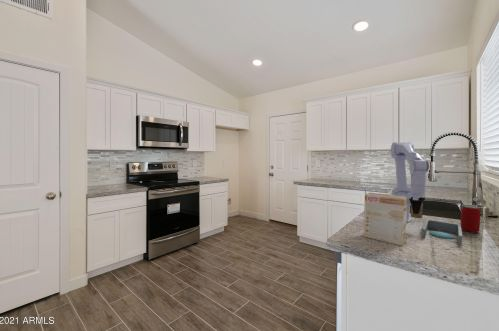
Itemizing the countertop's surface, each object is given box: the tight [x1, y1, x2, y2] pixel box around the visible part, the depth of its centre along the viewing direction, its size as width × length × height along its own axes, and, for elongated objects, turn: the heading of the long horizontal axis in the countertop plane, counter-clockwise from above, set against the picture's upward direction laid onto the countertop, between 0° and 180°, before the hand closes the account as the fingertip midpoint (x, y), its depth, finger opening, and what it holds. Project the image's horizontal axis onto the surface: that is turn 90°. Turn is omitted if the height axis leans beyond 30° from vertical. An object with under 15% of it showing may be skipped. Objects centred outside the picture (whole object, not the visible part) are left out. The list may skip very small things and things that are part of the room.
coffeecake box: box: [363, 192, 407, 247], centre depth 101 cm, size 15×7×20 cm, turn 45°
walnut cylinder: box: [410, 202, 424, 219], centre depth 111 cm, size 4×4×7 cm
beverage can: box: [460, 204, 482, 234], centre depth 112 cm, size 7×7×12 cm
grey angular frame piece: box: [421, 218, 463, 246], centre depth 106 cm, size 20×13×4 cm, turn 139°
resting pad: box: [429, 230, 456, 240], centre depth 106 cm, size 9×9×1 cm
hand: (416, 212), depth 111 cm, fingers closed on walnut cylinder, 4 cm apart
